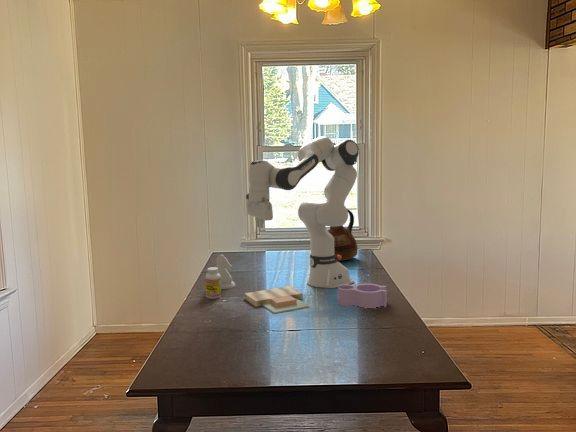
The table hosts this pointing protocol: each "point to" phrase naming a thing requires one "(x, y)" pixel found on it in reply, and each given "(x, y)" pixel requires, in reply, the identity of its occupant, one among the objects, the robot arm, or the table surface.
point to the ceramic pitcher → (344, 240)
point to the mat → (286, 307)
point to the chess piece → (224, 272)
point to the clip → (362, 295)
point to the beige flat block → (271, 295)
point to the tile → (283, 301)
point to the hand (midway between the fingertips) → (260, 227)
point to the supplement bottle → (213, 283)
